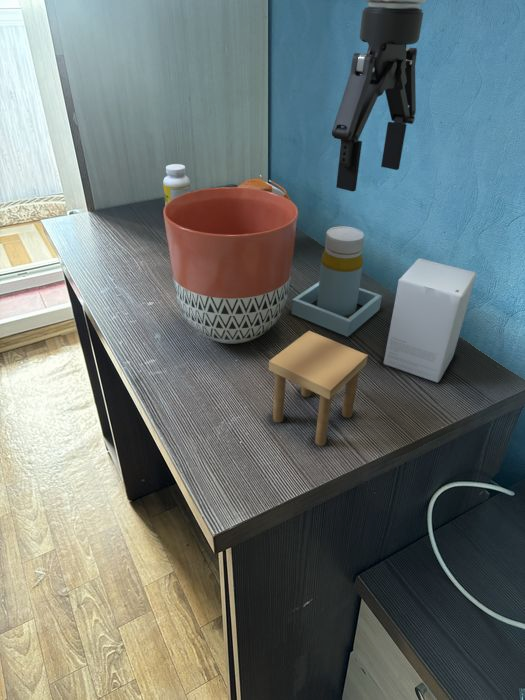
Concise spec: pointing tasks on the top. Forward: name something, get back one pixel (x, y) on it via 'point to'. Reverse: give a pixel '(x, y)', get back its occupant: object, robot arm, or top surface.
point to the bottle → (341, 271)
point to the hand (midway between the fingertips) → (369, 178)
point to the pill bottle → (175, 182)
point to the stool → (317, 375)
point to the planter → (231, 259)
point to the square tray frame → (331, 320)
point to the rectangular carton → (428, 318)
